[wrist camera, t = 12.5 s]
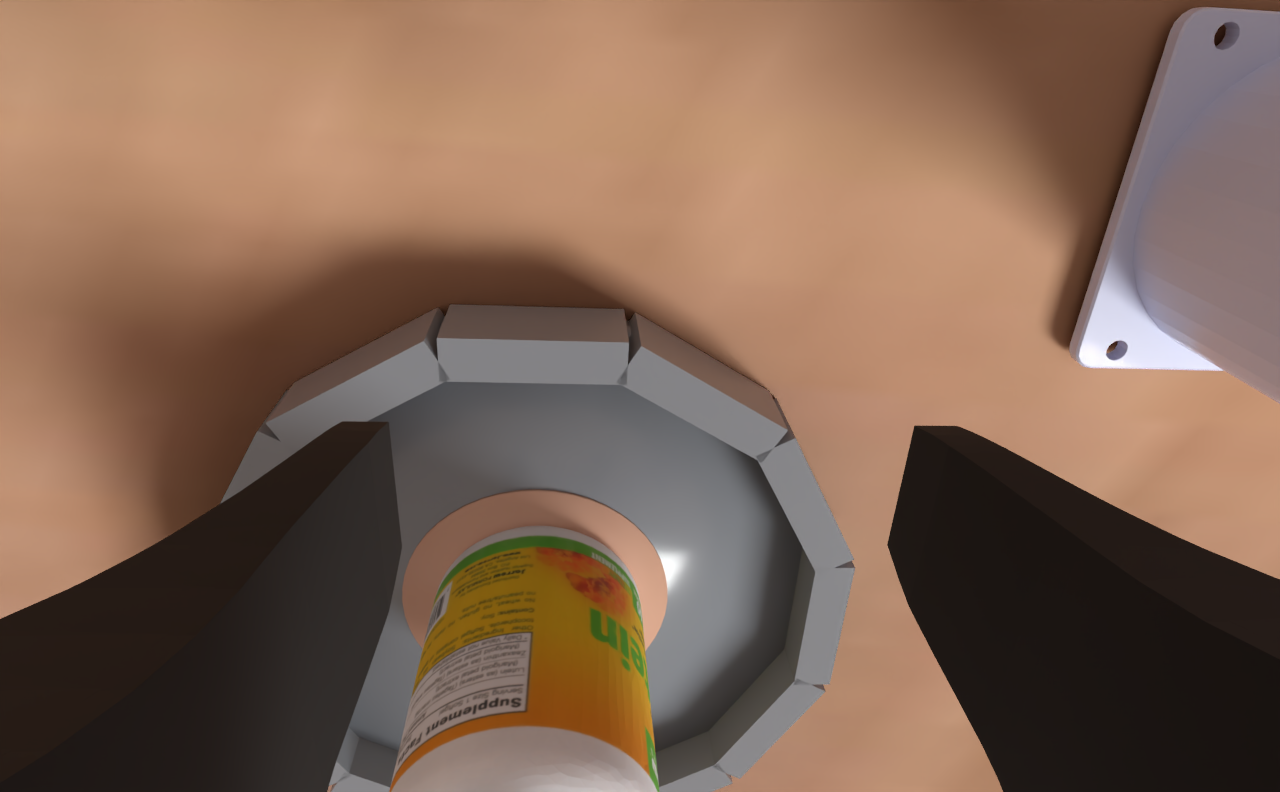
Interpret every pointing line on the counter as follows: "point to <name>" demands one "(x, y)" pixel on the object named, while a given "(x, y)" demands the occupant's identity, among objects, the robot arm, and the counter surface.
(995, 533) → the robot arm
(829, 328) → the counter surface
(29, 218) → the counter surface
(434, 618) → the supplement bottle
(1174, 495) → the counter surface
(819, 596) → the round tray
